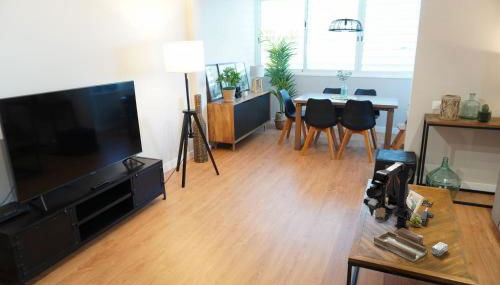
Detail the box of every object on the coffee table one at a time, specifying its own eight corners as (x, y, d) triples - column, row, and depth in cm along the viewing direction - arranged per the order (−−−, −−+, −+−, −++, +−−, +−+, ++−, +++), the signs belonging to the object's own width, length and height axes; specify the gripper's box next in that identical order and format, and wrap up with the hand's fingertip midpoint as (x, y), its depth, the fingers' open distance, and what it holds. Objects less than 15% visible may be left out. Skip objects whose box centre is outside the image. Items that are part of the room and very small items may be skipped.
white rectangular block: (439, 248, 194) (440, 241, 193) (446, 251, 191) (447, 244, 190) (431, 253, 189) (432, 247, 188) (438, 256, 186) (439, 250, 185)
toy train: (374, 218, 229) (375, 205, 227) (378, 209, 243) (379, 195, 241) (383, 220, 226) (384, 206, 224) (387, 210, 241) (388, 197, 238)
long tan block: (402, 234, 209) (402, 226, 207) (424, 244, 198) (425, 236, 196) (397, 237, 206) (398, 229, 205) (419, 247, 195) (420, 238, 194)
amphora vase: (378, 195, 266) (380, 161, 259) (408, 200, 257) (412, 164, 250) (374, 206, 247) (377, 169, 240) (407, 211, 238) (411, 173, 231)
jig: (387, 235, 208) (388, 230, 207) (427, 252, 189) (427, 247, 188) (373, 242, 200) (374, 237, 199) (413, 261, 181) (413, 256, 180)
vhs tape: (430, 209, 242) (430, 206, 241) (418, 206, 246) (418, 204, 246) (434, 202, 253) (434, 200, 252) (422, 200, 257) (422, 197, 257)
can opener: (423, 213, 236) (424, 206, 235) (434, 215, 232) (435, 208, 231) (417, 224, 222) (418, 216, 220) (428, 226, 218) (429, 219, 217)
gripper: (357, 191, 197) (356, 216, 201) (386, 202, 182) (384, 229, 186) (370, 187, 203) (368, 211, 207) (399, 197, 188) (396, 223, 192)
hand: (378, 218), depth 198 cm, fingers open, 9 cm apart
